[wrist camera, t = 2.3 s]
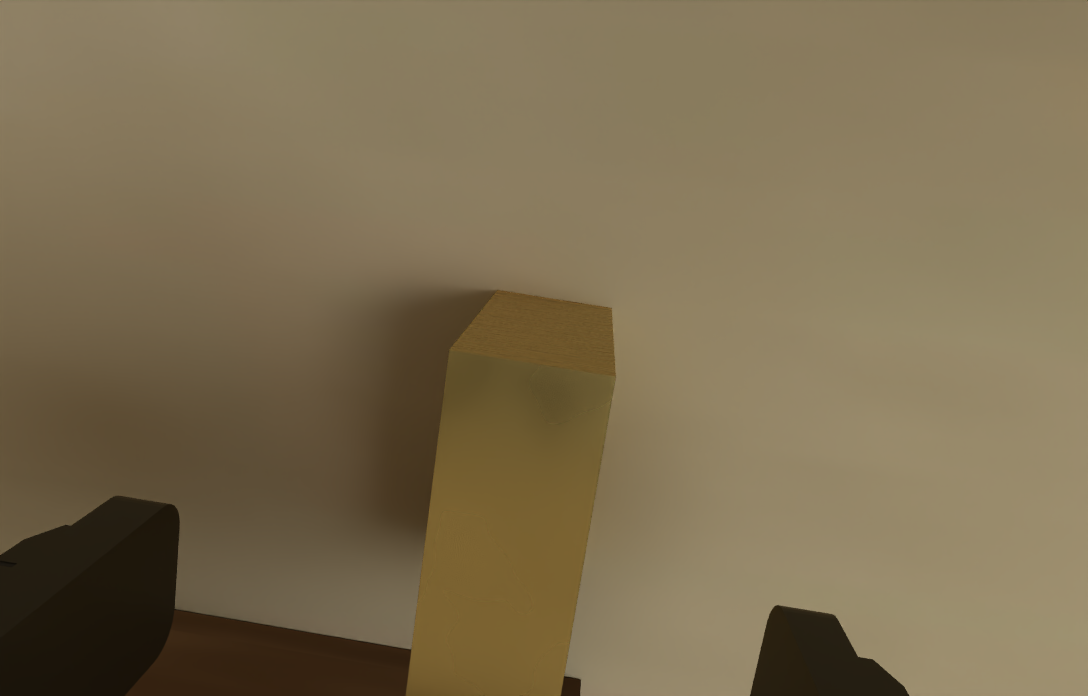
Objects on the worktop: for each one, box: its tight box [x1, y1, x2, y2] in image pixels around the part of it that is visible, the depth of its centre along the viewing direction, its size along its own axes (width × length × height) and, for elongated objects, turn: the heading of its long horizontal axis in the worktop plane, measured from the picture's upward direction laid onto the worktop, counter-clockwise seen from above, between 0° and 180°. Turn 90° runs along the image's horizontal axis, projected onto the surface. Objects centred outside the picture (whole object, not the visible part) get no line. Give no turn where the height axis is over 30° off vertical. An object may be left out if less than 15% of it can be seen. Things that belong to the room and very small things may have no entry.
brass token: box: [406, 290, 616, 696], centre depth 16 cm, size 6×2×6 cm, turn 171°
